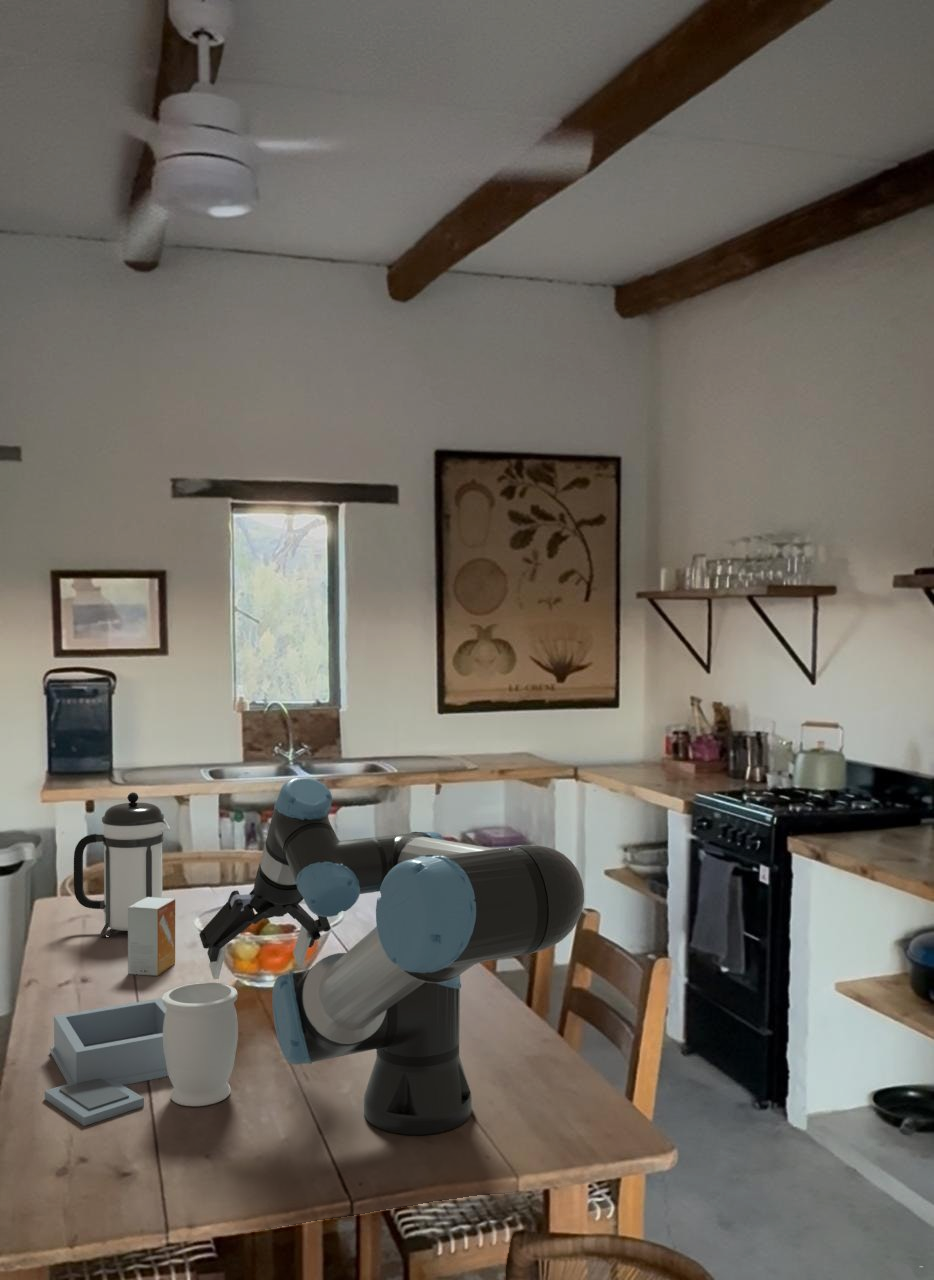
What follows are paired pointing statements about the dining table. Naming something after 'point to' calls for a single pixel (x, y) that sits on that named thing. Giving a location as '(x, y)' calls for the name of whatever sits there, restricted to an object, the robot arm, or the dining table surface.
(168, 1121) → the dining table surface
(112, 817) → the coffee press
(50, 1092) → the lid
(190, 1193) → the dining table surface
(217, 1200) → the dining table surface
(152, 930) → the small box
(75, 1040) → the housing
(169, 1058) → the jar
